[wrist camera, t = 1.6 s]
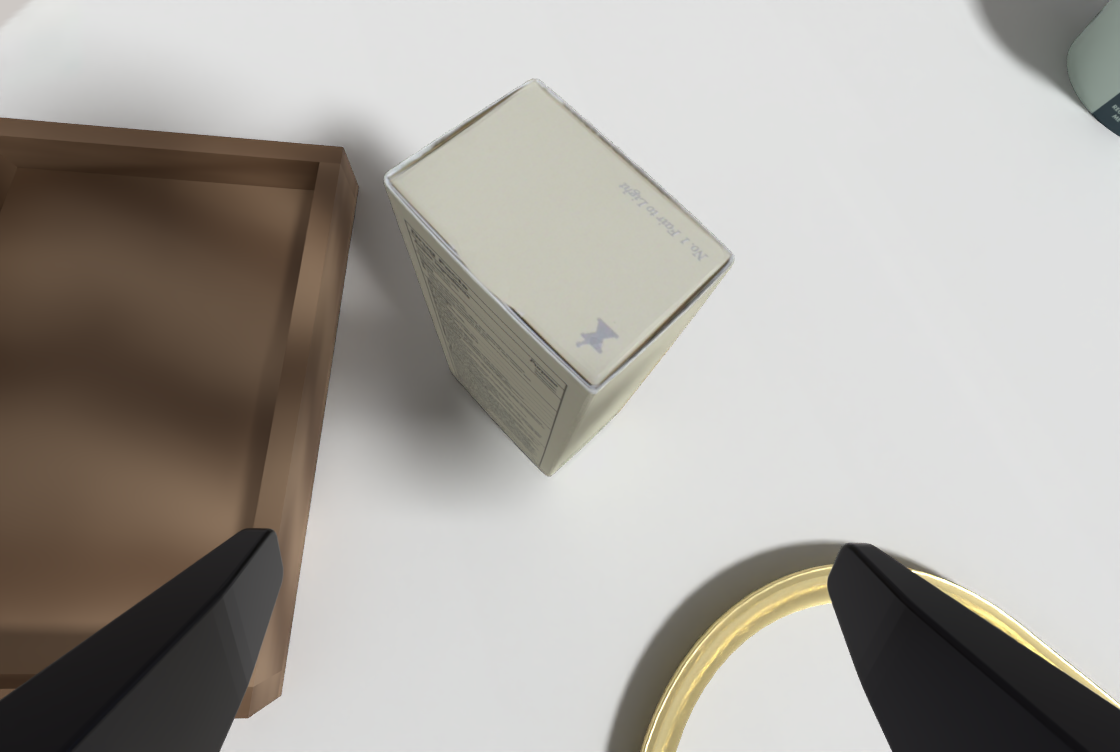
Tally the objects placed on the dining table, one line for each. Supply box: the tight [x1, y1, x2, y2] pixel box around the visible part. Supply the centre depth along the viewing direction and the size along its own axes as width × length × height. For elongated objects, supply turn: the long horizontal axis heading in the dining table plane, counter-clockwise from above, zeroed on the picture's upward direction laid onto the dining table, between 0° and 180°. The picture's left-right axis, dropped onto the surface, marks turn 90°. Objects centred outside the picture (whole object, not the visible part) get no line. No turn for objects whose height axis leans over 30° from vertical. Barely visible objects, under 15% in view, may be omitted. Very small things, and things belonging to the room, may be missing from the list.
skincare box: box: [384, 79, 734, 476], centre depth 16 cm, size 6×4×12 cm
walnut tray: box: [0, 118, 359, 718], centre depth 19 cm, size 20×14×2 cm
